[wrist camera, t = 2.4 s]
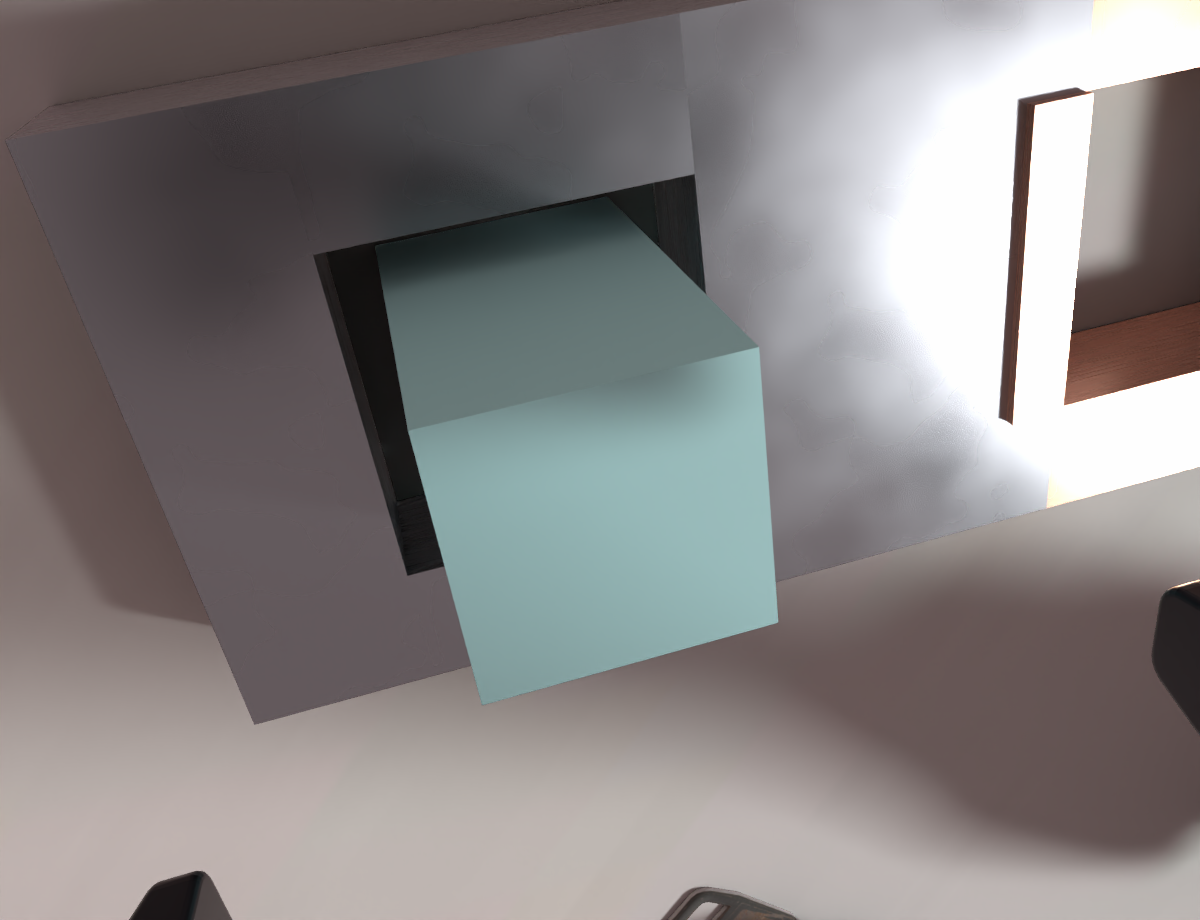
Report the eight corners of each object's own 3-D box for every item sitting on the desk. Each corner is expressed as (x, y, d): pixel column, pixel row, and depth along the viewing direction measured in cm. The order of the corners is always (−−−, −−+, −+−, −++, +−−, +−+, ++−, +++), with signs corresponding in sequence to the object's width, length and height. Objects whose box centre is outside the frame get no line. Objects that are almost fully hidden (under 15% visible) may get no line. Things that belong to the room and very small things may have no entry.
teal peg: (607, 196, 18) (759, 347, 12) (636, 403, 20) (778, 623, 14) (374, 245, 17) (407, 431, 11) (429, 452, 19) (482, 705, 13)
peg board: (1451, -154, 18) (1616, -162, 16) (1330, 356, 23) (1441, 406, 21) (49, 106, 15) (0, 143, 13) (260, 636, 20) (254, 732, 18)
